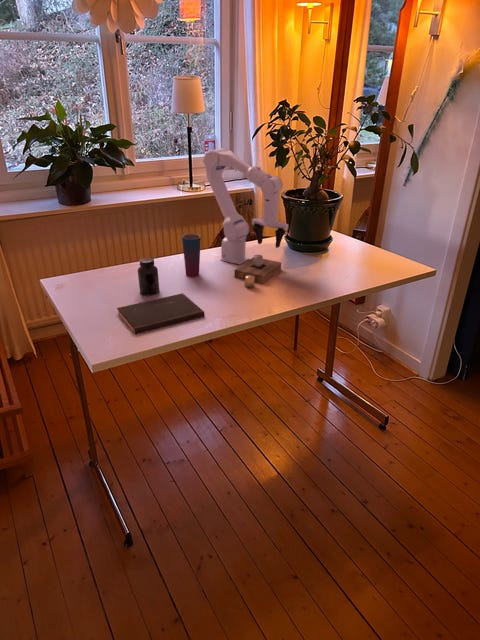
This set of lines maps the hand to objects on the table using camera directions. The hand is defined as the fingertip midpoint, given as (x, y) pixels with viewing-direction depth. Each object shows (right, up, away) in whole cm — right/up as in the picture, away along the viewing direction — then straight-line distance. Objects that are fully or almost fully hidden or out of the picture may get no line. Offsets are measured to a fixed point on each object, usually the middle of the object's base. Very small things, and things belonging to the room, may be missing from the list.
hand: (268, 245), depth 182 cm
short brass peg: (-8, -17, -12) cm, 22 cm away
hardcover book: (-36, -28, -32) cm, 56 cm away
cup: (-29, -12, -3) cm, 32 cm away
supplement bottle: (-43, -19, -17) cm, 50 cm away
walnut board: (-4, -11, -1) cm, 12 cm away
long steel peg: (-4, -11, -1) cm, 12 cm away
